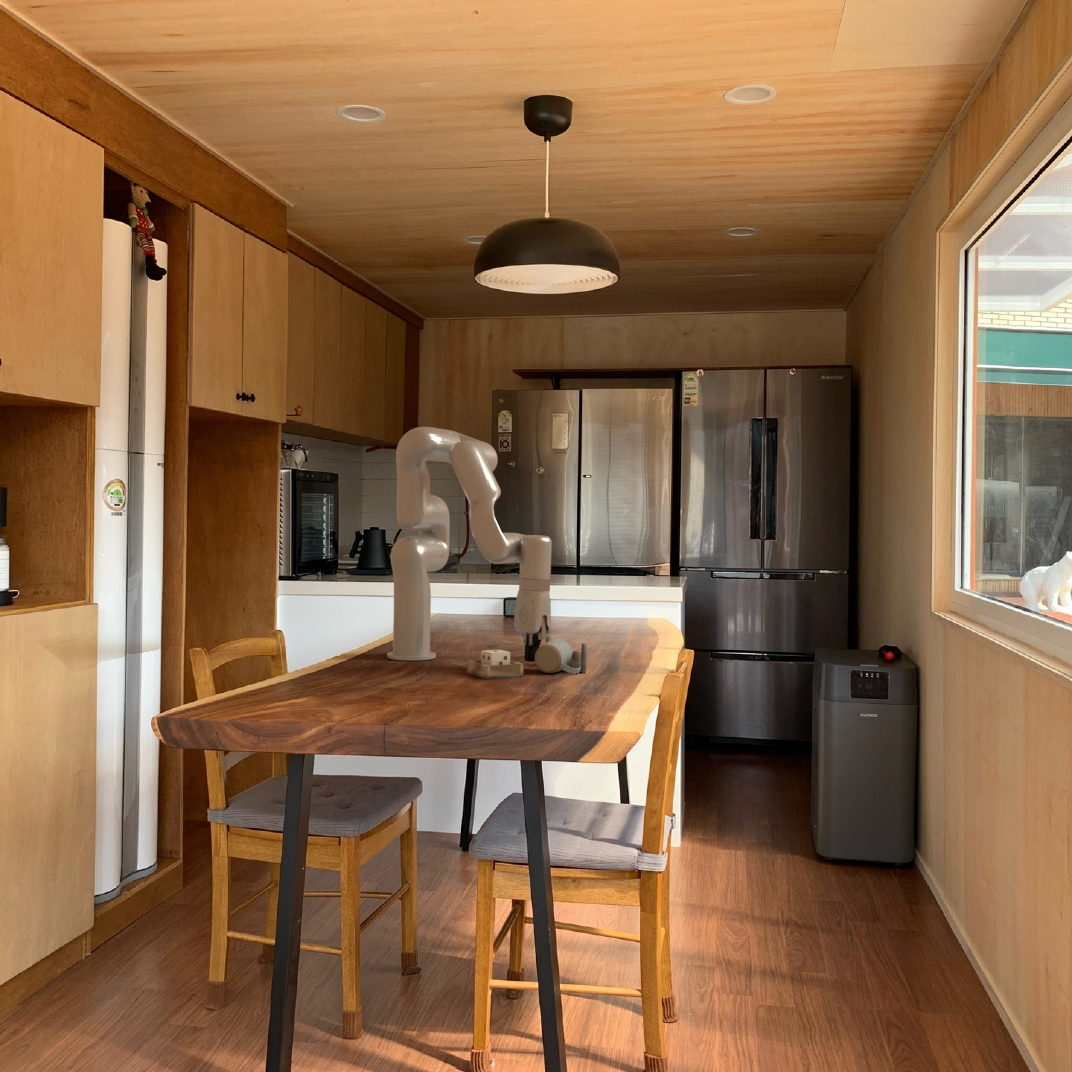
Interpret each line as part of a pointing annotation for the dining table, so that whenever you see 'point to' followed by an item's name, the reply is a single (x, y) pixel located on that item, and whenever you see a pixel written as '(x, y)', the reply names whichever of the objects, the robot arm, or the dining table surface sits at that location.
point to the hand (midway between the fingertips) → (531, 660)
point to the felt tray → (494, 670)
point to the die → (495, 657)
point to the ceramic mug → (556, 657)
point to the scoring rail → (577, 656)
